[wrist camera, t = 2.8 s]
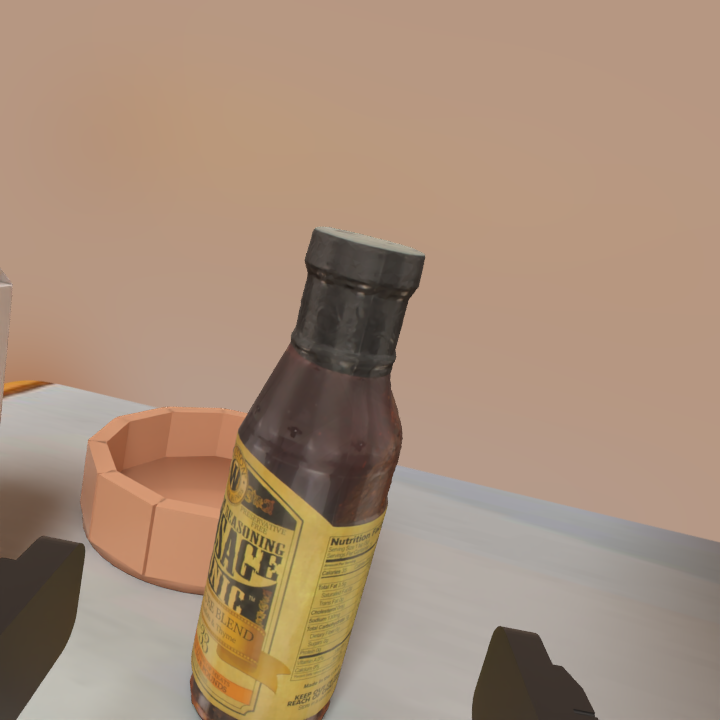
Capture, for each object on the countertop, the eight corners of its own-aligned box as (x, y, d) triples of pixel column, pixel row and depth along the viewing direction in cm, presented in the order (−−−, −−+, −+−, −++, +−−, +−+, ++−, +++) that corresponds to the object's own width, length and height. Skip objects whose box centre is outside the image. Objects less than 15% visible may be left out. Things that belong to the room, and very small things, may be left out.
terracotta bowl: (340, 487, 47) (352, 435, 46) (333, 620, 31) (351, 545, 30) (137, 446, 46) (146, 392, 45) (27, 562, 30) (36, 482, 29)
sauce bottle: (172, 655, 27) (251, 208, 22) (300, 637, 30) (393, 239, 25) (203, 788, 21) (316, 227, 17) (357, 749, 24) (488, 264, 20)
